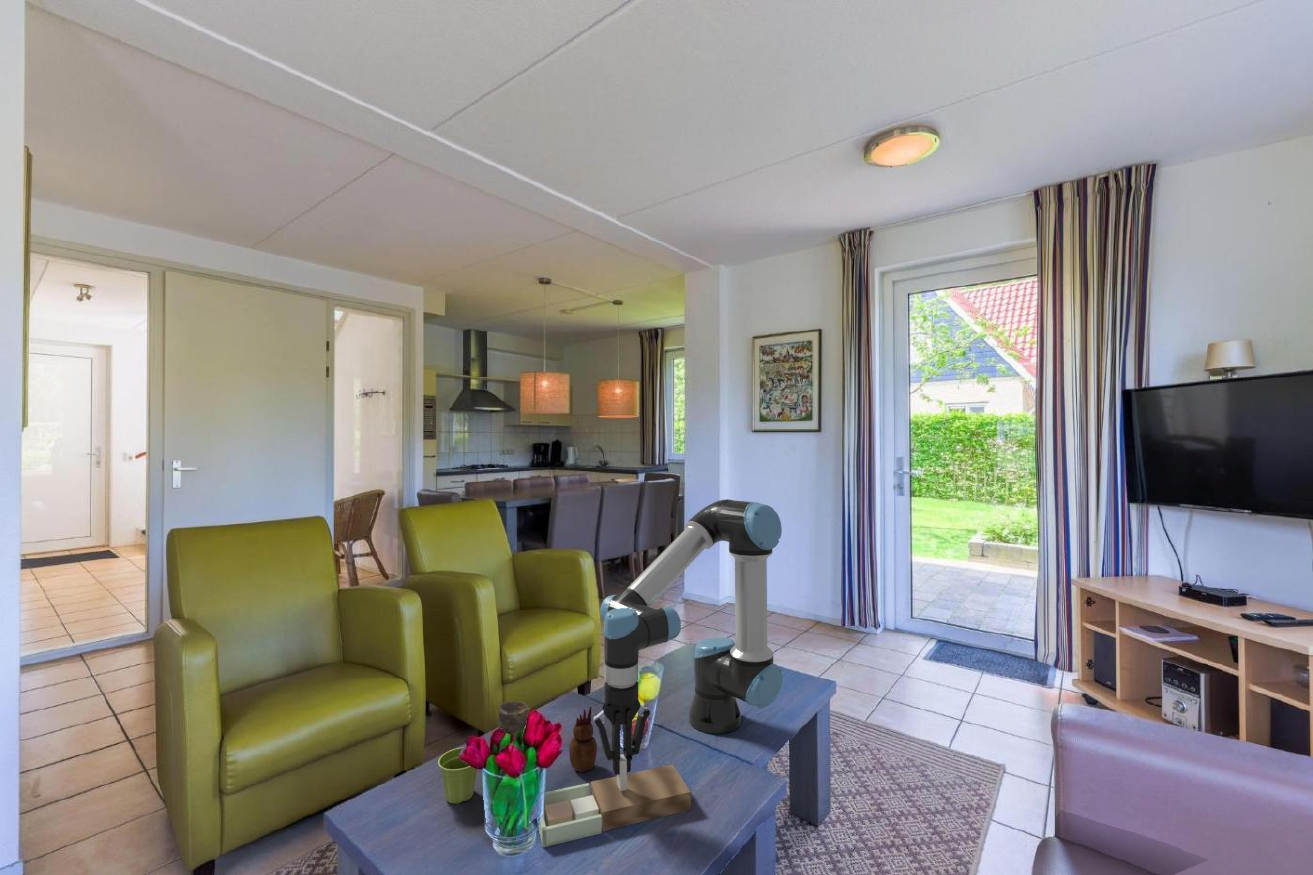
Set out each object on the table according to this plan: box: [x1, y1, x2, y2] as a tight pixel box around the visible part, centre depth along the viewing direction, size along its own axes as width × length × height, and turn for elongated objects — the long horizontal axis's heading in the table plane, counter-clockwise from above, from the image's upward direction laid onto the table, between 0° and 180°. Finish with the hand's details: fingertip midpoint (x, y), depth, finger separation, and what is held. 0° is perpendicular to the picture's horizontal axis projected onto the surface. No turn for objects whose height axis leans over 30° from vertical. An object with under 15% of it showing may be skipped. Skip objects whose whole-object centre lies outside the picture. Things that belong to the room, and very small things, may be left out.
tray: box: [538, 782, 603, 848], centre depth 121 cm, size 12×12×4 cm
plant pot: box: [437, 746, 478, 804], centre depth 130 cm, size 9×9×9 cm
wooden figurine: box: [568, 706, 598, 773], centre depth 141 cm, size 7×6×15 cm
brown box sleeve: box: [590, 764, 692, 832], centre depth 127 cm, size 20×11×4 cm, turn 110°
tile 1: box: [545, 801, 572, 826], centre depth 120 cm, size 5×5×2 cm
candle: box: [498, 701, 531, 735], centre depth 131 cm, size 8×7×20 cm
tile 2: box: [571, 794, 599, 820], centre depth 122 cm, size 5×5×2 cm
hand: (621, 786), depth 125 cm, fingers closed
